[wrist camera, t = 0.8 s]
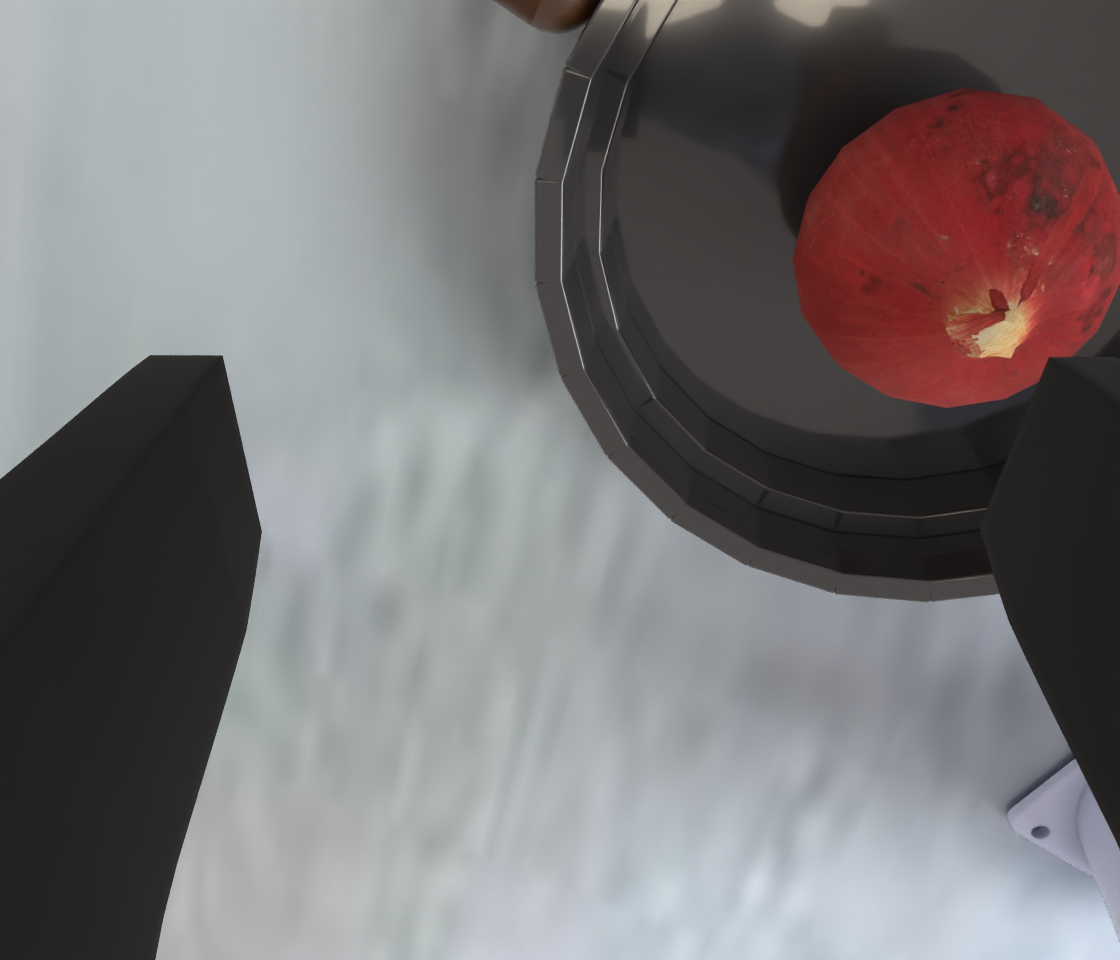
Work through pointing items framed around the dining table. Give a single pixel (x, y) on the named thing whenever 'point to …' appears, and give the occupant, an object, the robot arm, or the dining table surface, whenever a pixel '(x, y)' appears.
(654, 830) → the dining table surface
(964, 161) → the onion
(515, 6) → the pan handle
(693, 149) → the pan
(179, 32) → the dining table surface
